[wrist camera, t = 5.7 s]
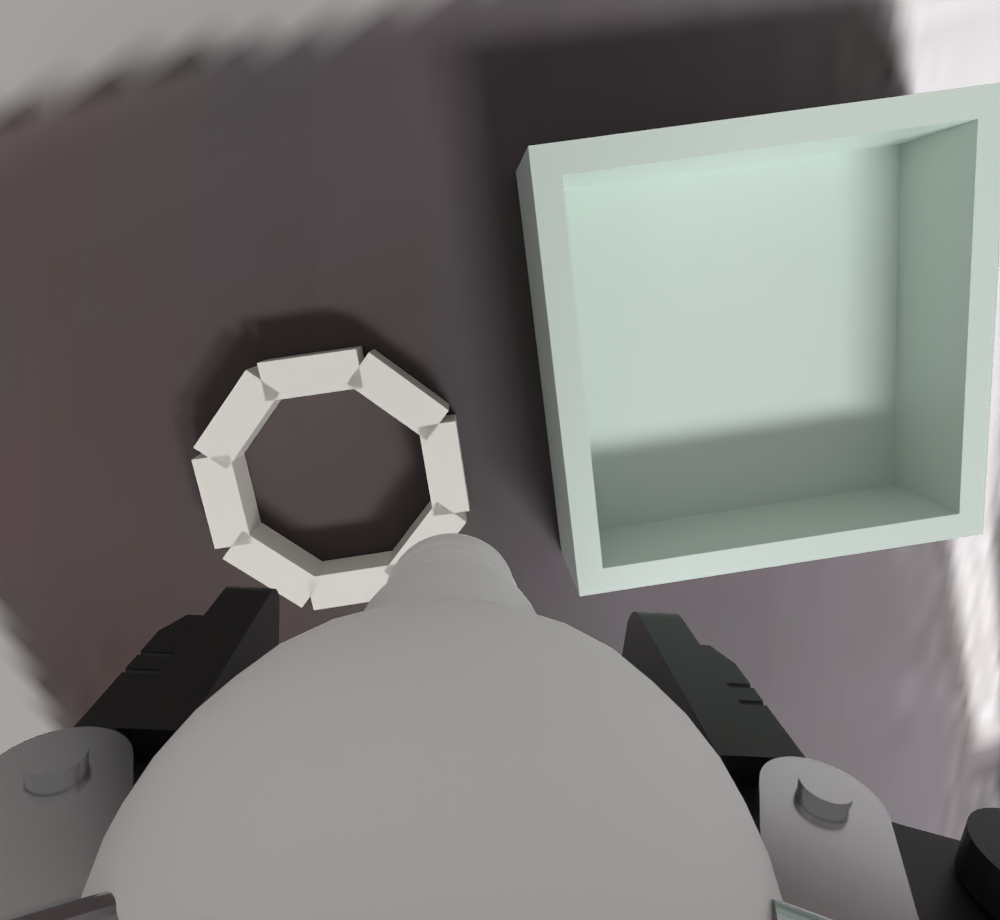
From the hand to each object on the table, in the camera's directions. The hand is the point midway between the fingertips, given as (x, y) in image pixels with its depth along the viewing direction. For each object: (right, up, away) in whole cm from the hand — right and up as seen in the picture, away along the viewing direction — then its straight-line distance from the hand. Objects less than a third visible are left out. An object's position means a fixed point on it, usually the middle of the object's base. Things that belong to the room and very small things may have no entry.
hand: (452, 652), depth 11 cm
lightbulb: (0, +1, +3) cm, 3 cm away
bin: (+10, +8, +17) cm, 21 cm away
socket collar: (-6, +2, +17) cm, 18 cm away
